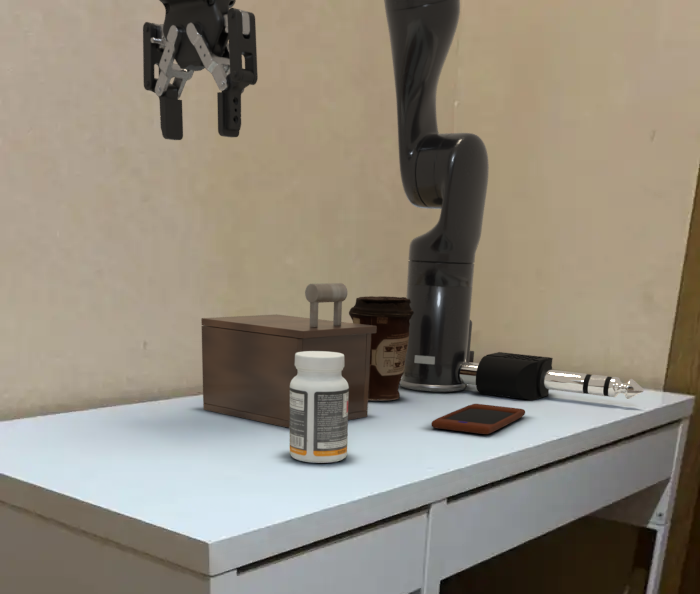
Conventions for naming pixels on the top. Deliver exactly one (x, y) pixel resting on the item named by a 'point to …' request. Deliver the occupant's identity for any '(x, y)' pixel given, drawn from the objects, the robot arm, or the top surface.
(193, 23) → the robot arm
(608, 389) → the audio adapter
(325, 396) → the pill bottle
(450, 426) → the smartphone
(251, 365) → the walnut box
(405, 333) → the coffee cup
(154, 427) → the top surface
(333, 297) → the lid
